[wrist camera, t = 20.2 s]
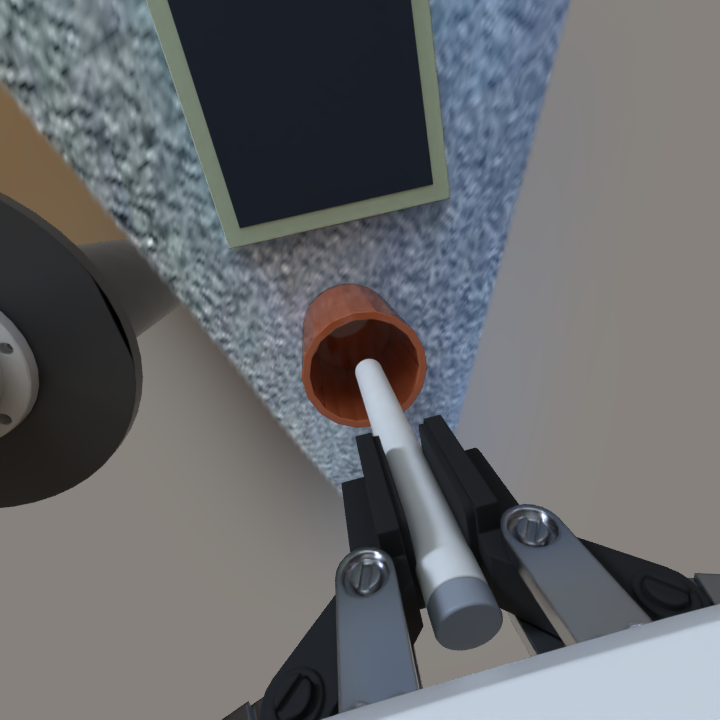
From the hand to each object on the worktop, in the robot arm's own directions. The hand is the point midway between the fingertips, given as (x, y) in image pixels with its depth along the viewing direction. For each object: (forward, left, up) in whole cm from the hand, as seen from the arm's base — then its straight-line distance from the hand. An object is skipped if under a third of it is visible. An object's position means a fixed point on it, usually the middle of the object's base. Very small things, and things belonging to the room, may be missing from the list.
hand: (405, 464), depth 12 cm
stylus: (0, 0, -8) cm, 8 cm away
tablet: (+1, +16, -16) cm, 22 cm away
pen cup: (0, 0, -16) cm, 16 cm away
